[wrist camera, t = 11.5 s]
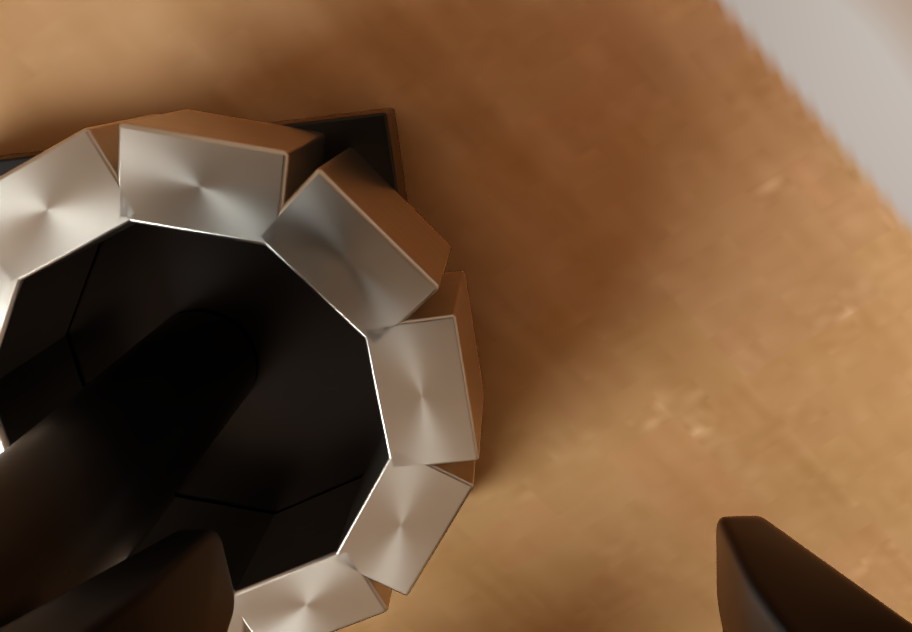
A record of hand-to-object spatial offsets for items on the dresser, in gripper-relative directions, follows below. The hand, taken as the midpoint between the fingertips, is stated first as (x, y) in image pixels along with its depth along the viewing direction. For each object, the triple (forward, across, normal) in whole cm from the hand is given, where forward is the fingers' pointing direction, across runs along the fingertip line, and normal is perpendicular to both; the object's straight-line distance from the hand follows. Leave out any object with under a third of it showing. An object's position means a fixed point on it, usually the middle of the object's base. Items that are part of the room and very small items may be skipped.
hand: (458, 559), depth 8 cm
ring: (+6, +5, 0) cm, 8 cm away
